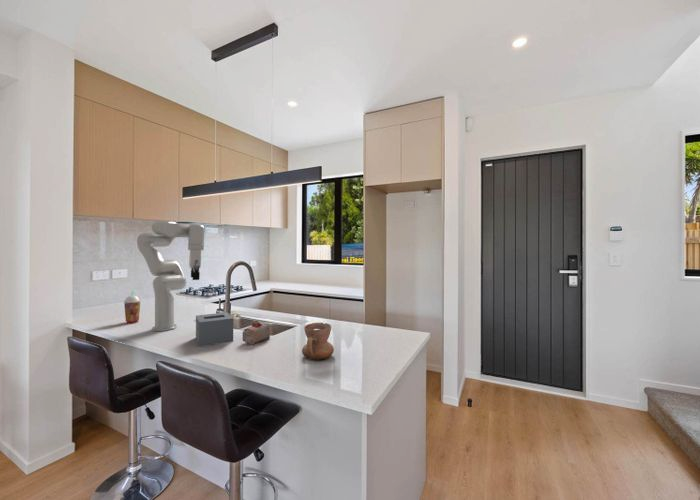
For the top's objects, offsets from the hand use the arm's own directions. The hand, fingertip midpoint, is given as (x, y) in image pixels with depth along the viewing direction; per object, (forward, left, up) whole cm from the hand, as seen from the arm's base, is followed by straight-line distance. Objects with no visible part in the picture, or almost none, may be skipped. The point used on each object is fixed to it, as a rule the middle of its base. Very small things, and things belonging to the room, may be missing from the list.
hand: (195, 278), depth 164 cm
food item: (+26, +27, -32) cm, 49 cm away
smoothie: (-50, -31, -32) cm, 67 cm away
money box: (+12, +8, -32) cm, 35 cm away
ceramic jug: (+62, +44, -32) cm, 82 cm away
